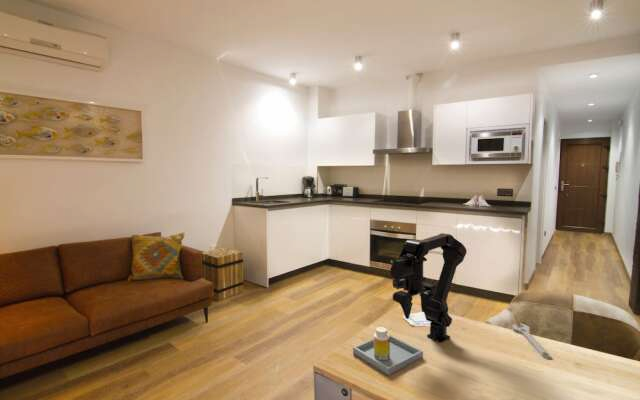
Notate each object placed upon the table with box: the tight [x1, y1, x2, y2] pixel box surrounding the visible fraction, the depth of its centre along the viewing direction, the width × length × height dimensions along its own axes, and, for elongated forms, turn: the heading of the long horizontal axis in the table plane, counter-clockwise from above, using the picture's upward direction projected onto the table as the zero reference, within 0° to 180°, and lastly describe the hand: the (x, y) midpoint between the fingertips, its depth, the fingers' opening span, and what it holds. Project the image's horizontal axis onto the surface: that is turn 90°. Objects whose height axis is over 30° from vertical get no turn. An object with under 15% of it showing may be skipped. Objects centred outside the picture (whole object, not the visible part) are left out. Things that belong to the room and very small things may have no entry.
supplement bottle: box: [373, 326, 390, 360], centre depth 123 cm, size 6×6×10 cm
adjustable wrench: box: [512, 323, 551, 360], centre depth 133 cm, size 25×6×2 cm, turn 167°
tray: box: [352, 334, 424, 377], centre depth 125 cm, size 18×18×2 cm
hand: (415, 315), depth 128 cm, fingers open, 9 cm apart
